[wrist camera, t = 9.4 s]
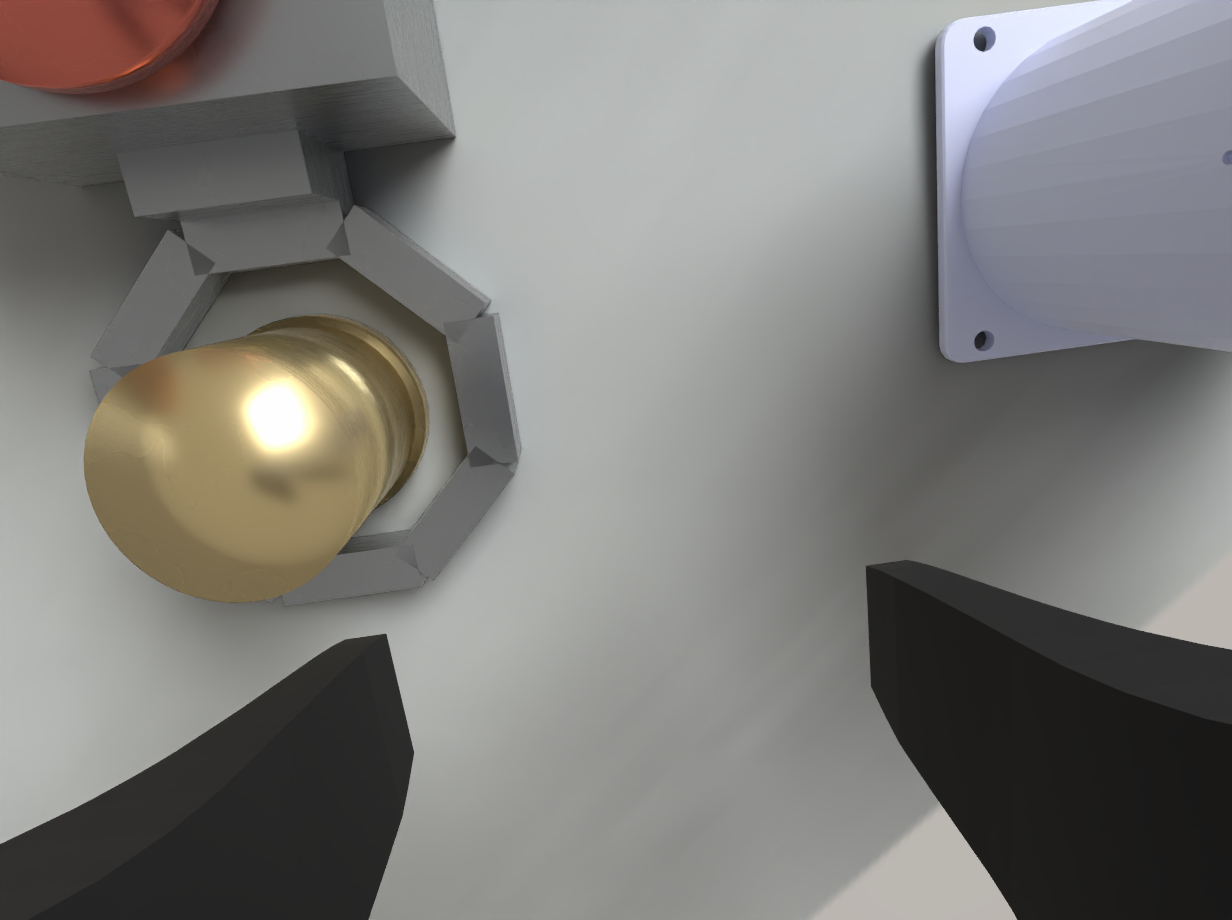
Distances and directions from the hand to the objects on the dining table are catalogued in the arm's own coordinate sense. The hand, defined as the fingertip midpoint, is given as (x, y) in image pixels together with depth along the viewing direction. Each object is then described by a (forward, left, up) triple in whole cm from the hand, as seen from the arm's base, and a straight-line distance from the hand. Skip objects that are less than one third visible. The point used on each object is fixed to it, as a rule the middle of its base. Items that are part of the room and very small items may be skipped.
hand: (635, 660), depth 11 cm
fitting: (+7, -3, -9) cm, 12 cm away
